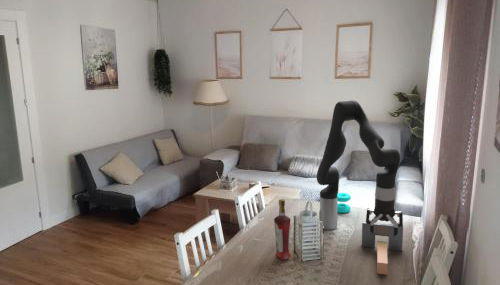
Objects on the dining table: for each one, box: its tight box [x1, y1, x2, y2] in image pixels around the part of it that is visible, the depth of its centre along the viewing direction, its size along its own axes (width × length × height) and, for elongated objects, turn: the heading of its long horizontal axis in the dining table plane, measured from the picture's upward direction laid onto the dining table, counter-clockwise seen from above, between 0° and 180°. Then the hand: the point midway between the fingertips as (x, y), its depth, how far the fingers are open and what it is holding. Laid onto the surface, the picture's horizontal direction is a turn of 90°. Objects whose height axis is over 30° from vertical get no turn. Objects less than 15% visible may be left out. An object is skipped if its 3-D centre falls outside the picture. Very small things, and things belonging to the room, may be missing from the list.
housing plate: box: [361, 221, 404, 252], centre depth 174 cm, size 18×2×12 cm, turn 71°
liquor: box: [273, 198, 291, 261], centre depth 167 cm, size 7×7×28 cm
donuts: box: [337, 192, 352, 214], centre depth 221 cm, size 10×10×10 cm
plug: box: [376, 240, 389, 275], centre depth 162 cm, size 4×20×5 cm, turn 161°
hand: (383, 234), depth 152 cm, fingers open, 8 cm apart
